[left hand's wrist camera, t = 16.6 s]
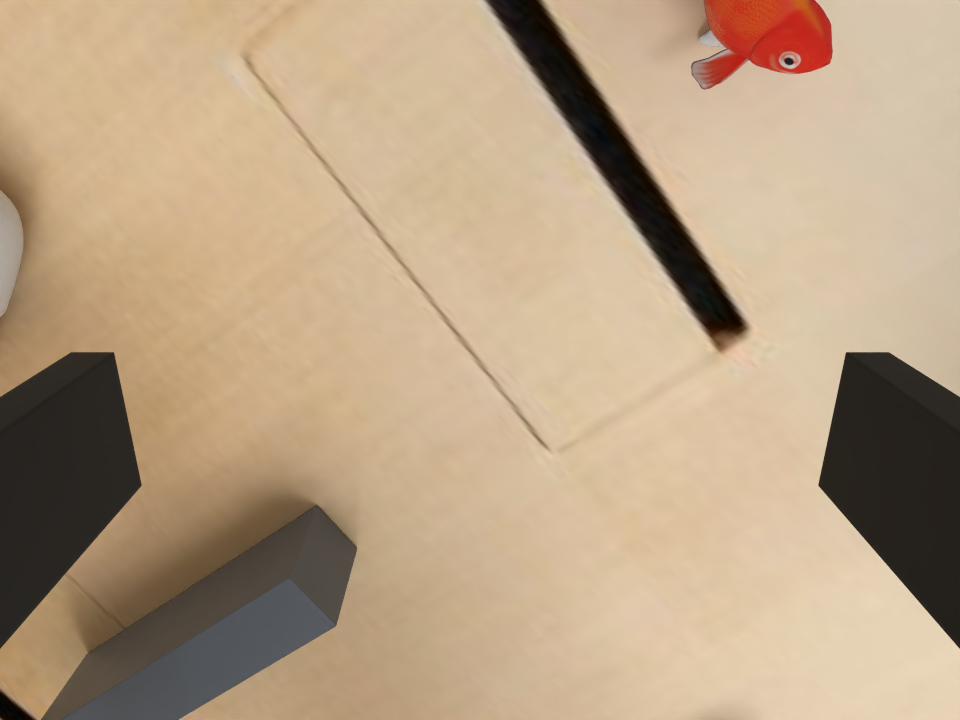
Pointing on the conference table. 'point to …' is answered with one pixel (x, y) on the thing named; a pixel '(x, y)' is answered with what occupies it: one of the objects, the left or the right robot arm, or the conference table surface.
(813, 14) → the fish
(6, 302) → the projector
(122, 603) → the conference table surface
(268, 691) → the conference table surface
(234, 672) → the bar
